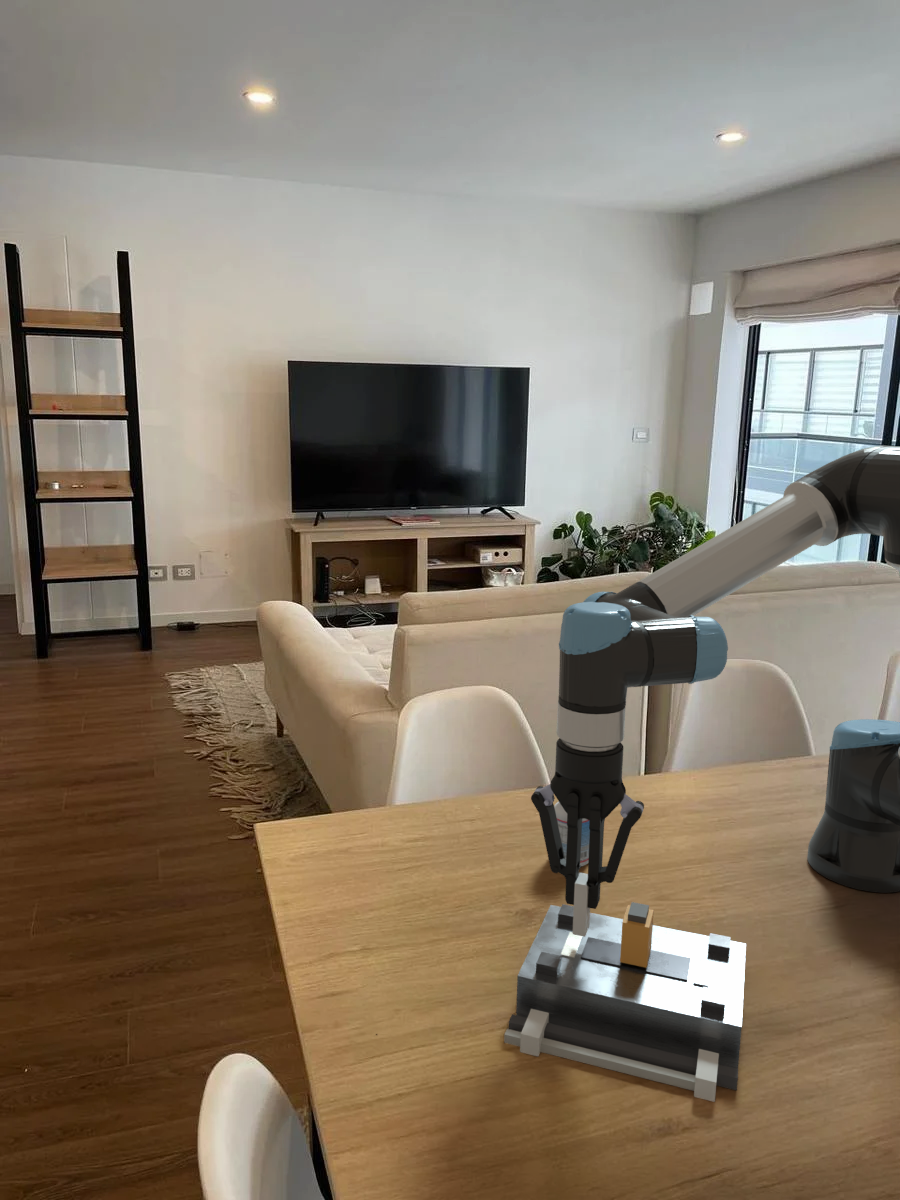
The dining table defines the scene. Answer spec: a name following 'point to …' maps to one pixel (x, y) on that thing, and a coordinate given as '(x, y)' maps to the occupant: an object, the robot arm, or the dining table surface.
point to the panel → (637, 986)
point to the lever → (637, 935)
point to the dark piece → (621, 1055)
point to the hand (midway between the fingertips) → (581, 929)
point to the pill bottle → (563, 829)
